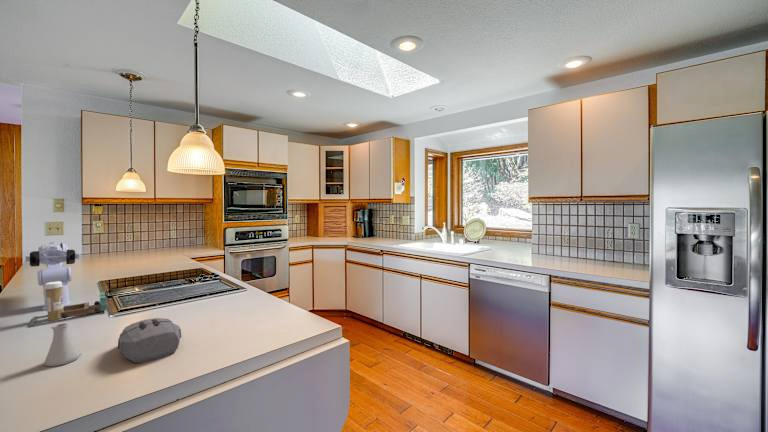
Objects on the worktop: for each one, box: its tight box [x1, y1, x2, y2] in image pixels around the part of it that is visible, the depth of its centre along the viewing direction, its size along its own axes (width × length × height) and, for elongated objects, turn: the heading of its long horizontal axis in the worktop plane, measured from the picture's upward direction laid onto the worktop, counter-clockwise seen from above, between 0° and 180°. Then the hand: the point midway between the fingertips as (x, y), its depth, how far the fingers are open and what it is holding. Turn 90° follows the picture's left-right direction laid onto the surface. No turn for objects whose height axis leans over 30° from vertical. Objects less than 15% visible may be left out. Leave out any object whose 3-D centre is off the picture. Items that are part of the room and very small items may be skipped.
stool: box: [60, 292, 107, 319], centre depth 130 cm, size 11×13×5 cm
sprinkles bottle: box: [45, 281, 64, 321], centre depth 125 cm, size 5×5×13 cm
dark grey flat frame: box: [29, 311, 105, 328], centre depth 128 cm, size 11×20×1 cm, turn 130°
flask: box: [43, 322, 82, 367], centre depth 93 cm, size 7×7×10 cm
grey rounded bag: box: [117, 317, 182, 364], centre depth 100 cm, size 15×8×20 cm
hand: (53, 261), depth 124 cm, fingers open, 7 cm apart
